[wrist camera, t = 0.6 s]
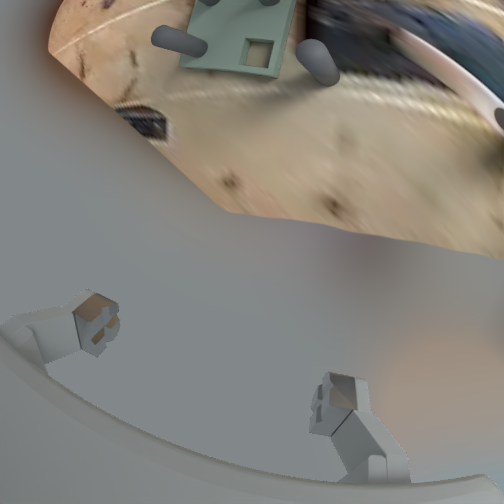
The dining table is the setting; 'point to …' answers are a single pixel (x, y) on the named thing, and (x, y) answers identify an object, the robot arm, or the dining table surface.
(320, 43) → the stool leg
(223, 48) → the stool seat
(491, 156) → the dining table surface
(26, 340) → the robot arm
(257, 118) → the dining table surface
